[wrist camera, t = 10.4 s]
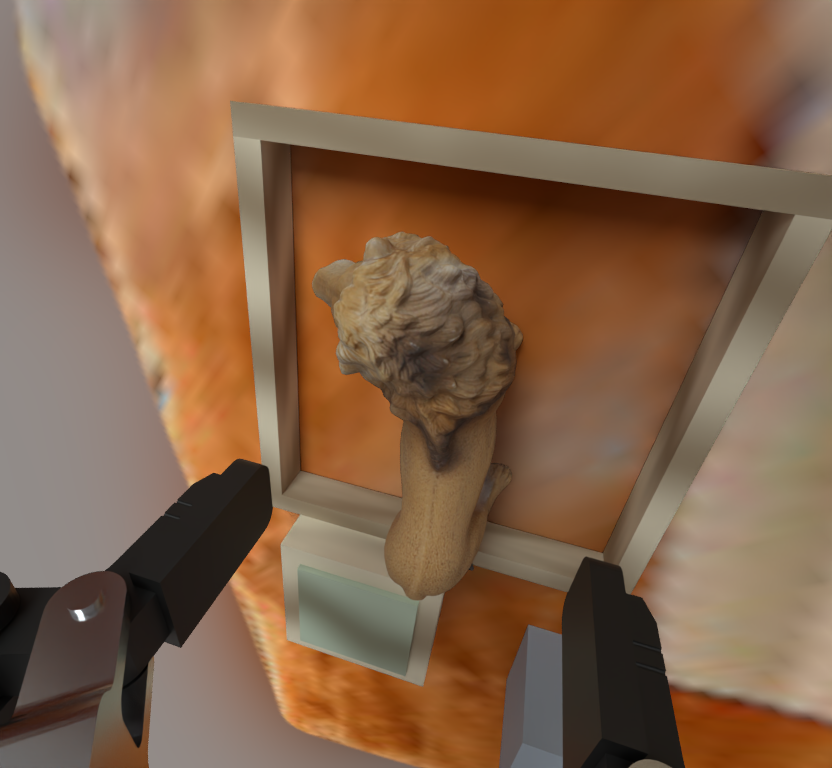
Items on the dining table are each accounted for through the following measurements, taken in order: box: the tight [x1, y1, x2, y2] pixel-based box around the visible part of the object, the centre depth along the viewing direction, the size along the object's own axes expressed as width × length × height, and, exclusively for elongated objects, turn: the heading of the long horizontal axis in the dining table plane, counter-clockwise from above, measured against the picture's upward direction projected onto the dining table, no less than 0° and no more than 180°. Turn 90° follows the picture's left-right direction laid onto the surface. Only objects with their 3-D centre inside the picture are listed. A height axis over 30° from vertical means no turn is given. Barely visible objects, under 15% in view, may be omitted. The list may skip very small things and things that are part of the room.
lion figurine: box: [312, 232, 523, 601], centre depth 15 cm, size 15×5×9 cm, turn 8°
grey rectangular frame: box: [230, 101, 832, 687], centre depth 20 cm, size 26×18×4 cm
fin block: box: [499, 625, 563, 768], centre depth 25 cm, size 6×4×6 cm, turn 174°
